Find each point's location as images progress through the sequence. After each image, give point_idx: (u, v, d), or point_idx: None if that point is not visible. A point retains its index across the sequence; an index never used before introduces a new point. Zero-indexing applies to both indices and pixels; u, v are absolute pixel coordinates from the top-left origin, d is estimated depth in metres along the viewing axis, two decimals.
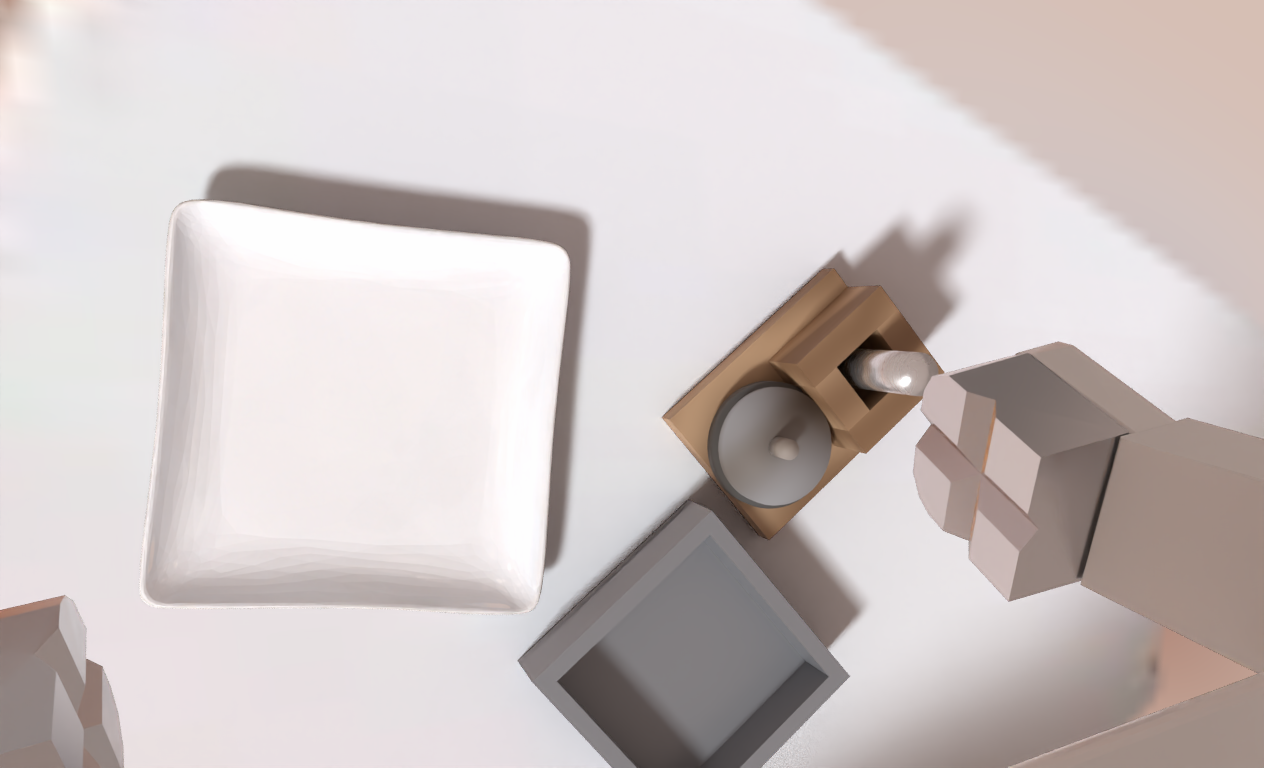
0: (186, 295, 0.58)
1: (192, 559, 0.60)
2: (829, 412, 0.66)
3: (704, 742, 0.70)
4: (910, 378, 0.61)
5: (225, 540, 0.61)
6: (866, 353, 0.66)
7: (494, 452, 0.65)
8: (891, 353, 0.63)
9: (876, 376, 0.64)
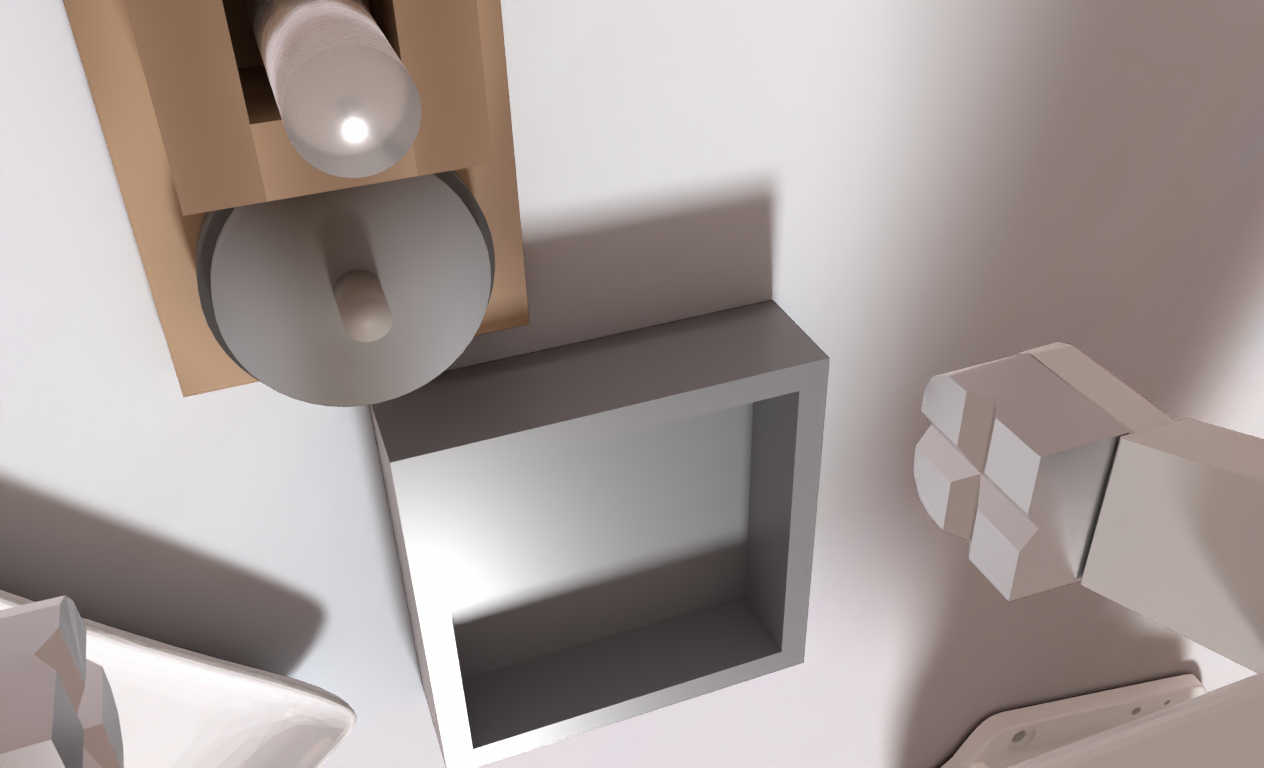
0: None
1: None
2: None
3: (724, 528, 0.43)
4: (348, 145, 0.20)
5: None
6: (258, 40, 0.23)
7: None
8: (270, 72, 0.21)
9: None
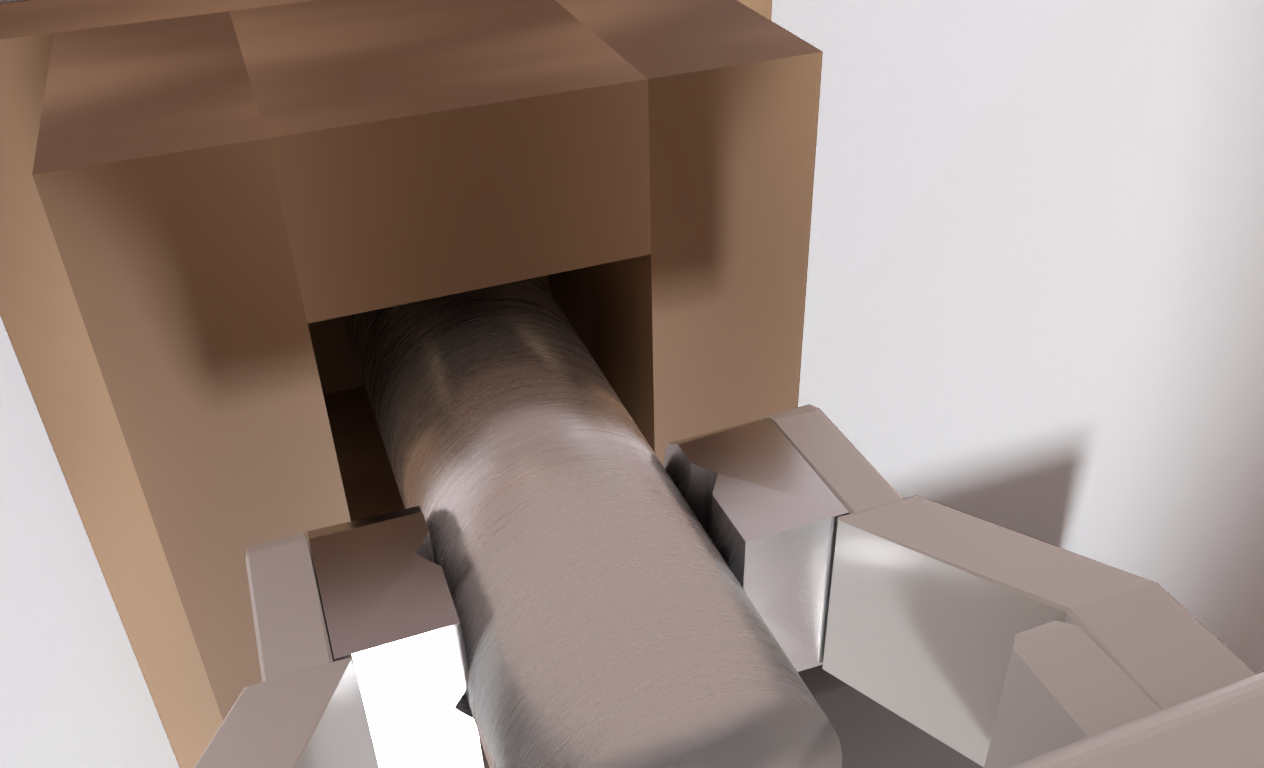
0: None
1: None
2: None
3: None
4: None
5: None
6: (396, 465, 0.11)
7: None
8: None
9: None
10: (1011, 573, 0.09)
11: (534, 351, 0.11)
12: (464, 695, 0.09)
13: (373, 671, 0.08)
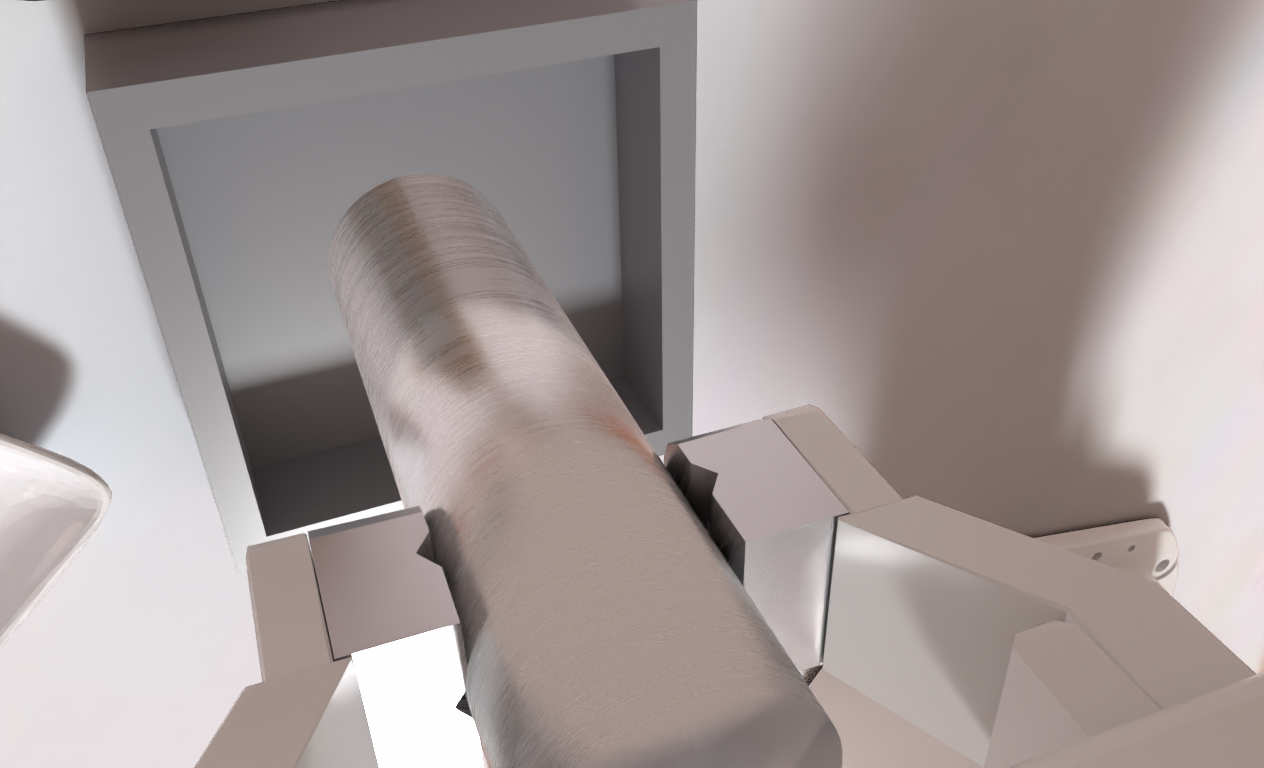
0: None
1: None
2: None
3: (591, 278, 0.35)
4: None
5: None
6: (394, 462, 0.11)
7: None
8: None
9: None
10: (1011, 573, 0.09)
11: (533, 347, 0.11)
12: (464, 695, 0.09)
13: (373, 671, 0.08)
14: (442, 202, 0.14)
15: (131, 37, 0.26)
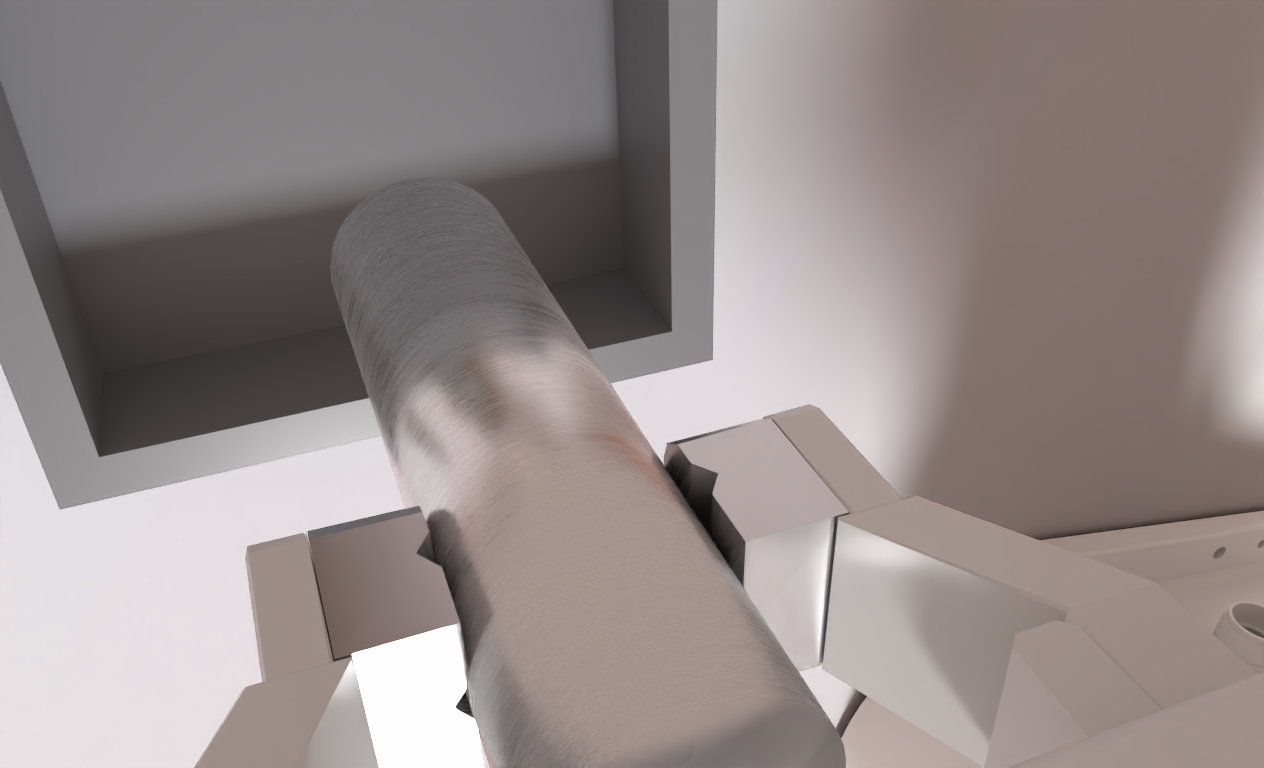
0: None
1: None
2: None
3: (576, 122, 0.25)
4: None
5: None
6: (396, 467, 0.11)
7: None
8: None
9: None
10: (1010, 573, 0.09)
11: (535, 352, 0.11)
12: (464, 695, 0.09)
13: (373, 671, 0.08)
14: (444, 206, 0.14)
15: None
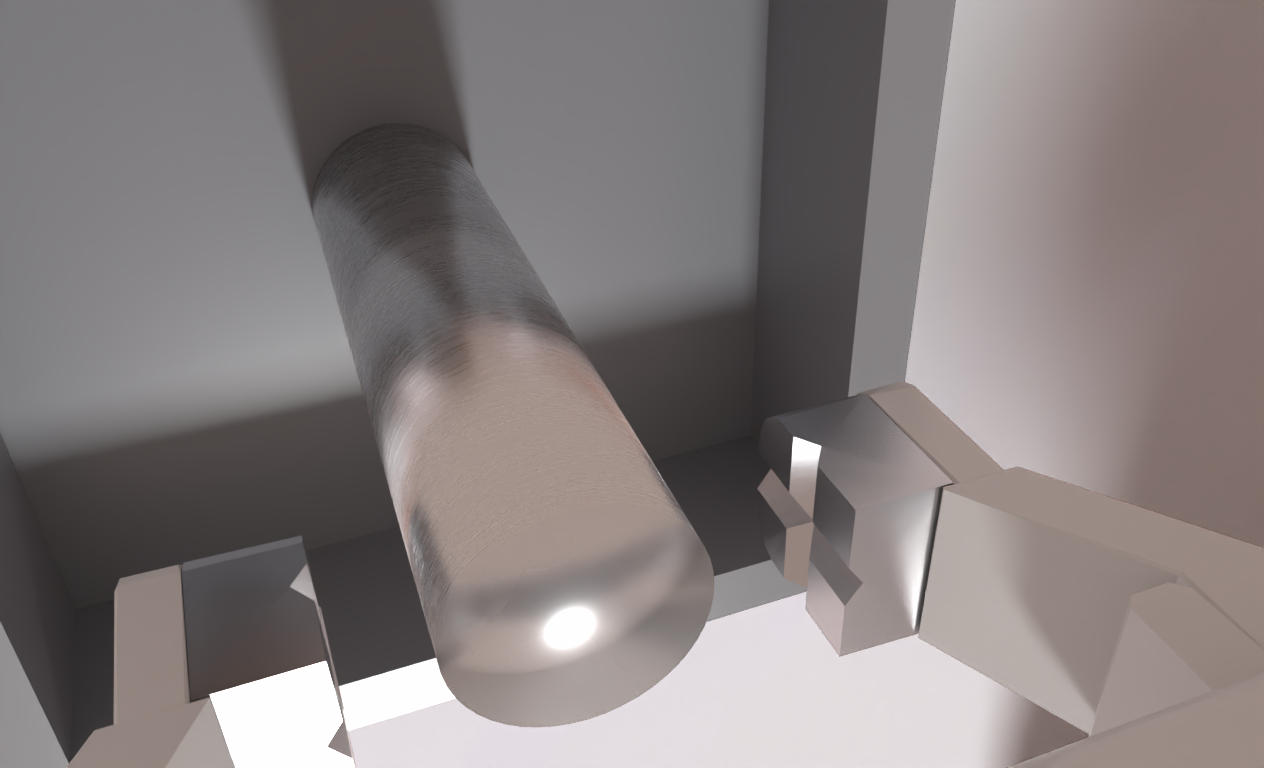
0: None
1: None
2: None
3: (705, 264, 0.19)
4: (563, 674, 0.10)
5: None
6: (356, 359, 0.13)
7: None
8: (393, 484, 0.10)
9: None
10: (1120, 538, 0.09)
11: (476, 257, 0.12)
12: (342, 732, 0.09)
13: (234, 711, 0.08)
14: (412, 146, 0.15)
15: None
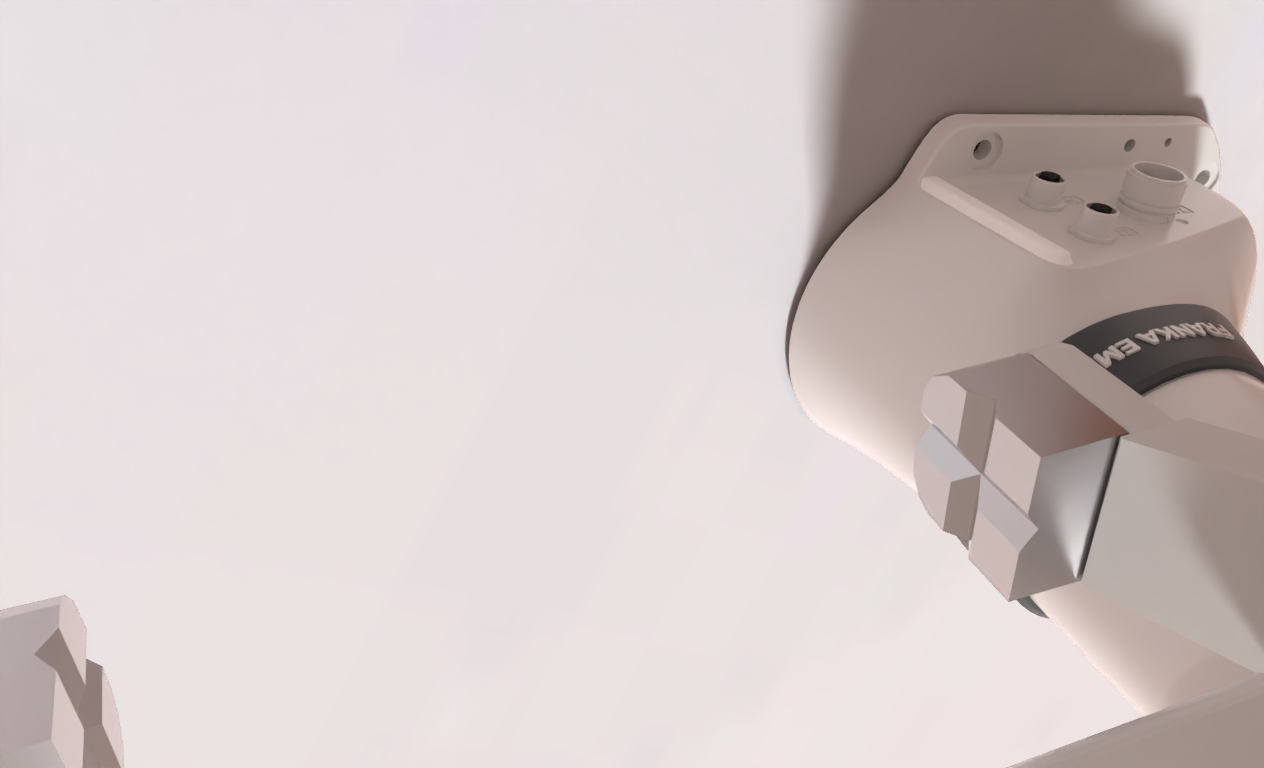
0: None
1: None
2: None
3: None
4: None
5: None
6: None
7: None
8: None
9: None
10: None
11: None
12: None
13: None
14: None
15: None
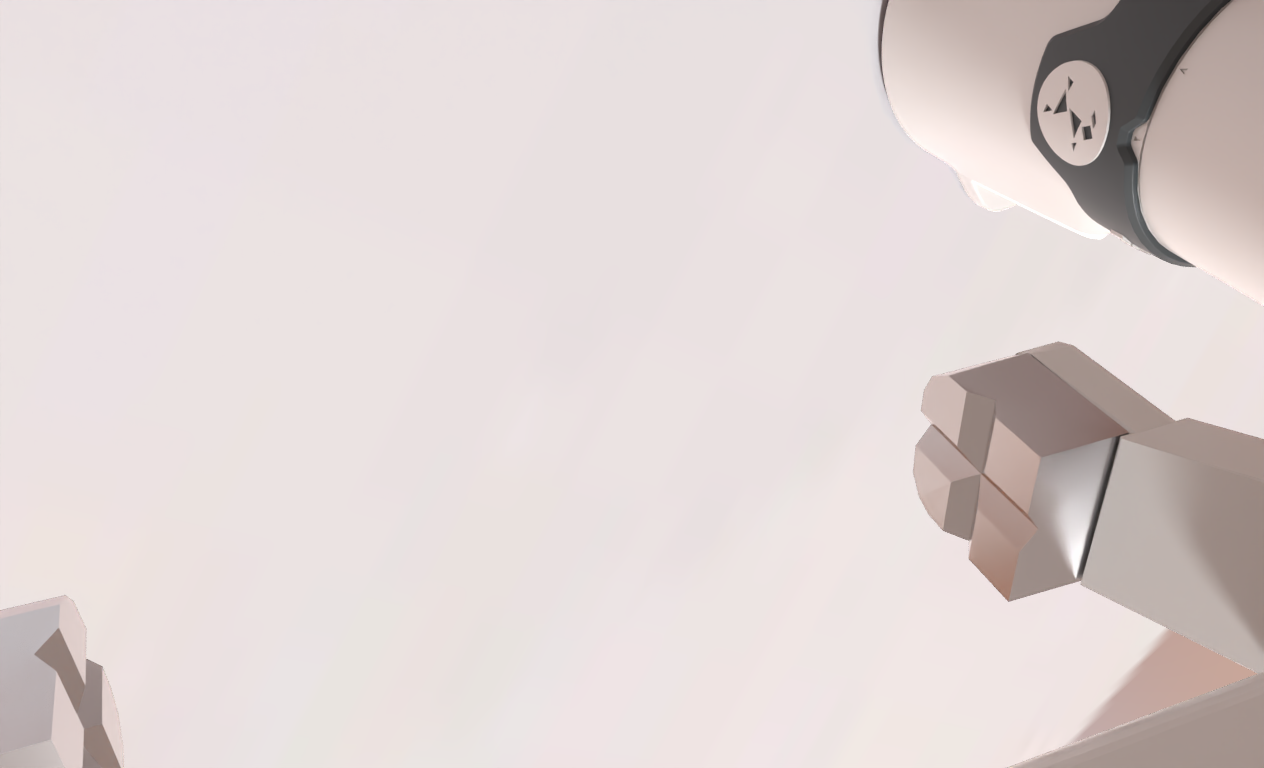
0: None
1: None
2: None
3: None
4: None
5: None
6: None
7: None
8: None
9: None
10: None
11: None
12: None
13: None
14: None
15: None
